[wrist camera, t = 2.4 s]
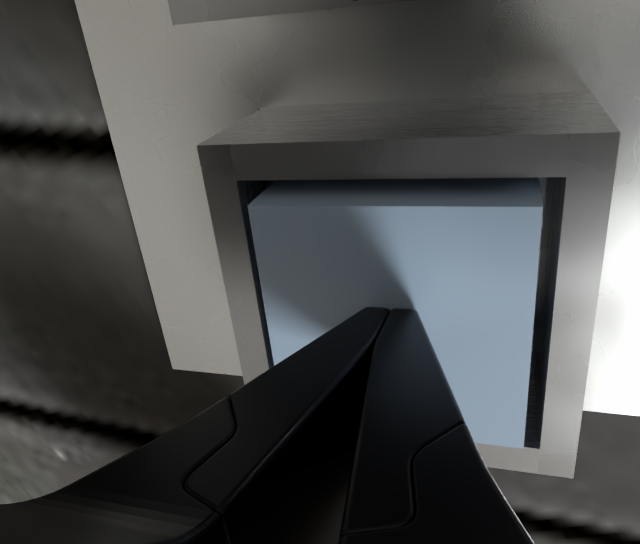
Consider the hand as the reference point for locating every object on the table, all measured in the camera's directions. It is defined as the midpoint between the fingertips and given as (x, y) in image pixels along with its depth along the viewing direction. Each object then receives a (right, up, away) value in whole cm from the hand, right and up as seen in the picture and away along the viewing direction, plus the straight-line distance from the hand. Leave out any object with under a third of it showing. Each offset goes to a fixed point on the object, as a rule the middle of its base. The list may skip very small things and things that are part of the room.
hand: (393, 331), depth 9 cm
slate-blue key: (+1, +1, +3) cm, 3 cm away
